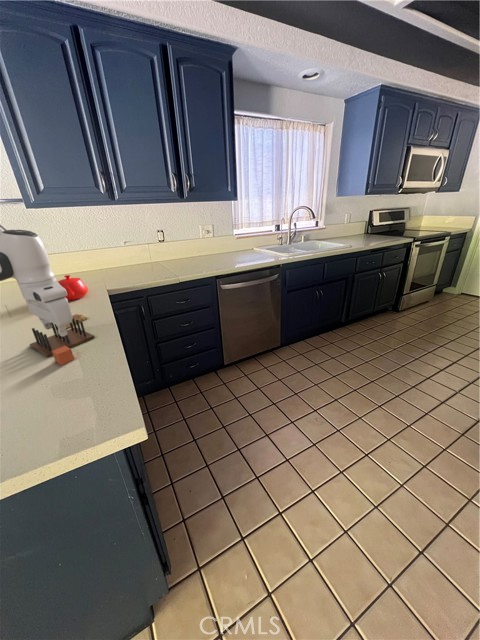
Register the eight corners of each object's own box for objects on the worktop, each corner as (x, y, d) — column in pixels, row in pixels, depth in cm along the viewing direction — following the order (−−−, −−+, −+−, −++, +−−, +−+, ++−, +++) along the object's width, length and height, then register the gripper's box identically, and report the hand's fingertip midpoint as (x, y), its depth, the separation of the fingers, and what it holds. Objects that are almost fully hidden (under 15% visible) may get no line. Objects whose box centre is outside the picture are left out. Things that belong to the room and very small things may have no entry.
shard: (66, 329, 107) (64, 325, 106) (52, 327, 110) (51, 323, 109) (88, 319, 116) (87, 315, 116) (75, 317, 119) (73, 313, 118)
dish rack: (48, 357, 88) (41, 338, 85) (30, 346, 95) (23, 329, 92) (94, 337, 100) (89, 321, 97) (75, 329, 107) (70, 313, 104)
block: (61, 365, 83) (57, 354, 82) (55, 361, 85) (51, 351, 84) (74, 359, 86) (71, 348, 85) (68, 356, 88) (64, 345, 87)
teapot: (59, 293, 151) (52, 272, 146) (89, 289, 157) (84, 269, 152) (53, 307, 131) (45, 283, 126) (88, 302, 137) (82, 279, 132)
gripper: (13, 287, 79) (30, 328, 85) (44, 297, 68) (61, 344, 74) (36, 281, 84) (51, 321, 89) (69, 291, 73) (83, 335, 79)
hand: (56, 331), depth 82 cm, fingers open, 8 cm apart
